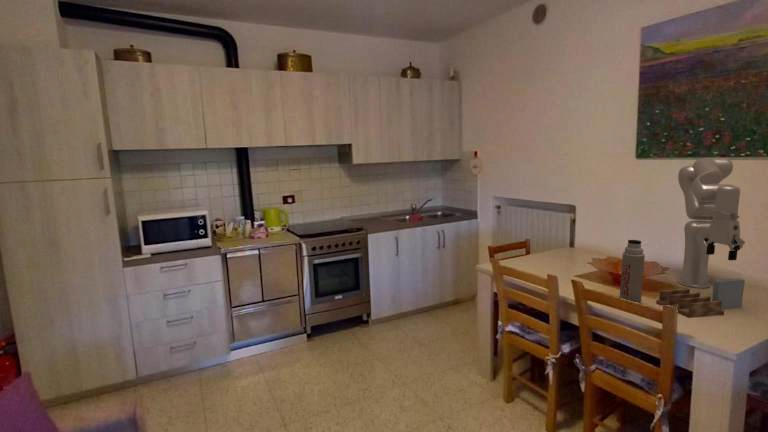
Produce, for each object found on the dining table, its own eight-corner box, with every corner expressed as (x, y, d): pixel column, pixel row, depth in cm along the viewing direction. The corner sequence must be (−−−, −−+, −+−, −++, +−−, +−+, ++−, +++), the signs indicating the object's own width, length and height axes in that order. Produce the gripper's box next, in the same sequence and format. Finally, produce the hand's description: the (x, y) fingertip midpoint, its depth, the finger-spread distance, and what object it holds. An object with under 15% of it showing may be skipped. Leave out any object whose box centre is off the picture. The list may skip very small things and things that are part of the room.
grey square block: (735, 305, 172) (738, 278, 170) (741, 307, 170) (744, 279, 168) (711, 307, 170) (714, 280, 169) (716, 309, 168) (719, 281, 166)
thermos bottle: (627, 307, 172) (632, 243, 168) (615, 300, 180) (619, 239, 176) (645, 306, 173) (650, 242, 169) (632, 299, 181) (636, 238, 177)
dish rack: (688, 300, 179) (689, 288, 178) (723, 314, 163) (725, 301, 162) (656, 303, 176) (657, 291, 175) (688, 317, 161) (690, 304, 160)
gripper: (754, 219, 158) (749, 262, 160) (714, 213, 175) (710, 252, 177) (737, 219, 157) (732, 263, 160) (698, 213, 174) (694, 252, 177)
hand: (720, 257), depth 168 cm, fingers open, 9 cm apart
